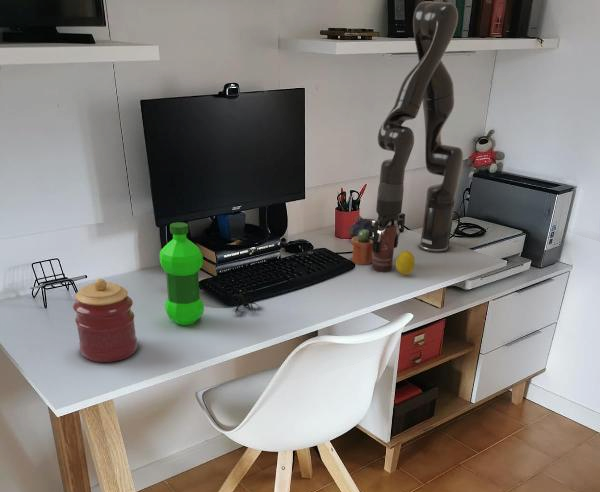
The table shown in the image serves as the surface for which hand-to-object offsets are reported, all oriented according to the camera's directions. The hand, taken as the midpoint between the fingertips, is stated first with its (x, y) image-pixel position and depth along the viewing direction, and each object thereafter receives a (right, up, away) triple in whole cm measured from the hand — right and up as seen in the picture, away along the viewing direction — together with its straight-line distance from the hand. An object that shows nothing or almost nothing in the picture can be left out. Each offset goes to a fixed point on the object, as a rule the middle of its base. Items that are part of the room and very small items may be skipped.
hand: (384, 250), depth 203 cm
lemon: (+6, -8, -2) cm, 10 cm away
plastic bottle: (-56, -26, -34) cm, 71 cm away
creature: (-41, -23, -28) cm, 54 cm away
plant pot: (-6, -2, +8) cm, 11 cm away
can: (0, -5, +3) cm, 6 cm away
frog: (-4, +10, +28) cm, 30 cm away
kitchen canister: (-71, -35, -49) cm, 93 cm away
